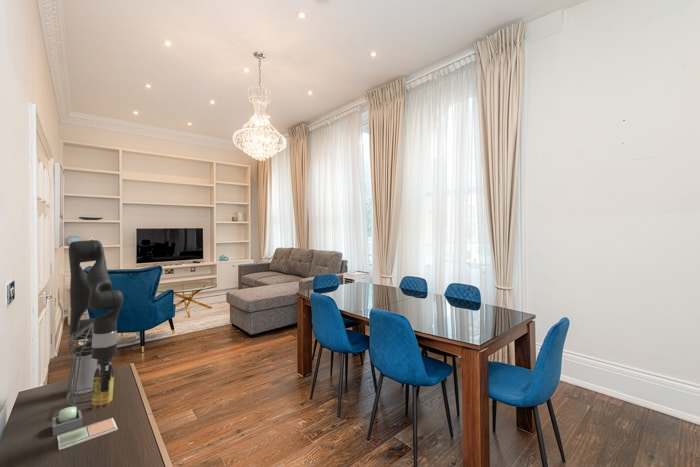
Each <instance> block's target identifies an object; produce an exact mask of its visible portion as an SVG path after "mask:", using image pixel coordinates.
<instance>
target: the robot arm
mask: <svg viewBox="0 0 700 467" xmlns="http://www.w3.org/2000/svg"><path fill="white" fill-rule="evenodd" d="M68 259H69V261H68V262H69V270H70V282H69V283H70V287H69V299H70V302H69V303H70V320H69V332H68V333H69V335H70V336H69V339H70V338H71V334H72V333H74V332H75V333H76V331H77V332H78V330H79V329H81V328H83V327H85V326H87V325H88V324H90V323H94V325H93V337H92V334H91V338H90V335H88V336H87V338H90V339H92V342H88V343H87V344H86V342H85V344H86V346H85V347H90V346H92V348H87V349H84V348H83V347H81V346H78V345H77V346H76V347H74V348H75V350H76V352H80V351H81V349H82V348H83V349H84V350H83V351H88V352H81V358H88V359H81V360H80V367H79V375H78V382H77V389H76V390H81V389H86V388H91V387H93V379H94V374H95V371H96V369H97V368H98V369H99V376H101V380H100V381H101V392H105V391H108V389H109V380H110V379H111V366H113V364H112V363H111V362H112V360H111V361H110V362H109V358H110V357H112V358H113V357H114V356H115V355H117V354H118V353H117V350H118V330H117V327H118V317H119V313H120V311H121V308H122V307H123V306H122V305H123V303H124V298H125V297H124V295H123V293H122V291H121V290H118V289H115V290H113V289H112V288H113V283H112V280H111V278H110V275H109V272H108V268H107V261H106V256H105V250H104V246H103V244H102V242H101V241H99V240H97V239H95V240H94V239H90V240H77V241H76V240H74V241H71V242H70V243H69V245H68ZM88 262H89V263H90V262H94V264H93V265H92V266H91V267H90V268H89V270H88V272H86V271H85V270H84V269H83V268H82V266H81V263H88ZM88 309H89V310H92V311H96V312H98V311H105V310H108V311H107V313H105V314H103V315H99V316H97V317H95V318H87V319H81V318H82V316H83V315H84V314H85V312H86V311H87V310H88ZM89 328H90V327H89ZM89 328H88V329H87V330H85V331H84V332H83V333H87V332H88V330H89ZM90 330H91V329H90ZM89 333H90V331H89ZM91 333H92V332H91ZM74 336H75V334H74V335H73V337H74ZM81 336H84V337H85V336H86V335H81ZM76 337H77V338H76ZM76 337H75V338H76V339H75V338H74V339H75V340H74V339H73V340H74V341H80V340H84V339H85V338H82V337H80V336H79V337H78V336H76ZM89 341H91V340H89ZM81 345H82V346H84V344H81ZM75 350H74V349H73V350H72V353H73V355H74V353H76V352H75ZM89 350H92V351H89ZM78 354H79V353H78ZM78 354H77V355H76V357H77V356H78ZM79 356H80V354H79ZM79 356H78V357H77V358H76V359H79ZM89 357H92V358H89ZM74 358H75V356H74ZM99 359H101V363H99ZM78 363H79V360H77V361H76V373H75V385H76V378H77V371H78ZM73 364H74V363H73ZM111 364H112V365H111ZM72 371H73V369H72ZM101 371H102V373H101ZM105 375H107V378H104V376H105ZM73 377H74V374H73ZM75 385H74V391H75ZM72 389H73V380H72V386H71V392H72ZM92 390H93V389H88V390H82V391H77V392H76V395H84V394H87V393H90V392H92ZM74 395H75V392H74Z"/></svg>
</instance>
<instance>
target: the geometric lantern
mask: <svg viewBox="0 0 700 467" xmlns="http://www.w3.org/2000/svg"><path fill="white" fill-rule="evenodd" d="M93 325H94V323H90V324H88V325H87V326H85V327H83V328H81V329H79V330H78V332H77V331H76V333H75V332H74V333H72V334H71V338H70V334H69V339H68V341H66V343H67V344H68V347H69V351H70V356H71V365H70V372H69V378H68V383H67V390H66V396H65V402H64V403H65V404H66V405H69V406H70V407H77V411H78V410H80V411H81V412H82V411H86V410H88V409H89V410H90V409H93V408H92V406H88V407H85V408H81V409H79V408H78V407H80V406H85V405H89V404H91V402H92V394H91V395H87V396H82V397H78V396H77V394H76V392H77V391H82V390H88V389H93V387H91V388H86V389H81V390H76V389H77V382H78V375H79V367H80V360H81V359H88V358H81V352H88V351H83V350H84V349H87V348H92V346H90V347H85V346H86V344H87V343H88V342H92V339H90V338H91V334H92V337H93ZM89 327H90V328H89ZM88 328H89V330H88V332H87V333H83V332H84V331H85V330H87V329H88ZM90 329H91V330H90ZM89 331H90V333H89ZM91 332H92V333H91ZM74 334H75V336H74V337H73V335H74ZM81 335H86V336H85V337H84V336H81ZM88 335H90V338H87V336H88ZM76 336H78V337H79V336H80V337H82V338H85V339H83V340H75V339H76V338H77V337H76ZM75 337H76V338H75ZM74 338H75V339H74ZM73 339H74V340H73ZM90 340H91V341H90ZM81 342H82V343H83V344H84V346H82V345H83V344H80V343H81ZM85 343H86V344H85ZM74 345H76V346H77V347H78V346H81V347H83V348H84V349H83V348H82V349H81V351H80V352H76V350H75V348H76V347H75V346H74ZM72 348H73V350H75V352H76V353H74V355H73V350H72ZM89 351H92V350H89ZM78 353H79V354H80V356H79V354H78ZM77 354H78V356H79V359H76V358H77V357H78V356H77V357H76V355H77ZM74 356H75V358H74ZM89 358H92V357H89ZM77 360H79V363H78V371H77V378H76V385H75V373H76V361H77ZM73 363H74V364H73ZM72 369H73V371H72ZM73 374H74V377H73ZM72 380H73V389H72ZM74 385H75V391H74ZM71 391H72V392H71ZM74 392H75V394H74ZM74 396H75V397H74ZM69 397H71V401H68V400H69ZM88 397H89V398H88ZM86 398H87V399H86ZM89 401H91V402H89ZM85 402H86V403H85ZM81 403H82V404H81Z"/></svg>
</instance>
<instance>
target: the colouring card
mask: <svg viewBox="0 0 700 467" xmlns="http://www.w3.org/2000/svg"><path fill="white" fill-rule="evenodd" d="M118 430H119V429H118V426H117V424H116V421H115V420H114V418H113V417H110V418H108V419H104V420H101V421H98V422H95V423H92V424H89V425H86V426H82V427H79V428H76V429H73V430H70V431H67V432H64V433H61V434H58V435H56V436H57V437H56V438H57V443H58V451H61V449H62V450H64V449H67V448H70V447H73V446H75V445H78V444H81V443H84V442H88V441H91V440H93V439H96V438H98V437H101V436H104V435H107V434H109V433H113V432H116V431H118Z"/></svg>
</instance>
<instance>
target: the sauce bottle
mask: <svg viewBox="0 0 700 467" xmlns="http://www.w3.org/2000/svg"><path fill="white" fill-rule="evenodd" d="M112 358H113V356H112V357H110V358H109V362H110V361H111V365H112V366H111V379H110V380H109V389H108V391H105V392H101V381H100V380H101V376H99V369H98V368H97V369H96V371H95V374H94V379H93V390H92V391H91V395H92V396H91V398H92V400H91V403H90V404H91V407H92V408H91V409H93V410H101V409H106V408H107V407H109V406H110V405H112V402H113V398H114V397H113V396H114V395H113V394H114V382H115V368H114V366H113V364H112V360H113V359H112ZM99 363H101V359H99ZM101 373H102V371H101ZM104 378H107V375H105V376H104Z"/></svg>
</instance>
